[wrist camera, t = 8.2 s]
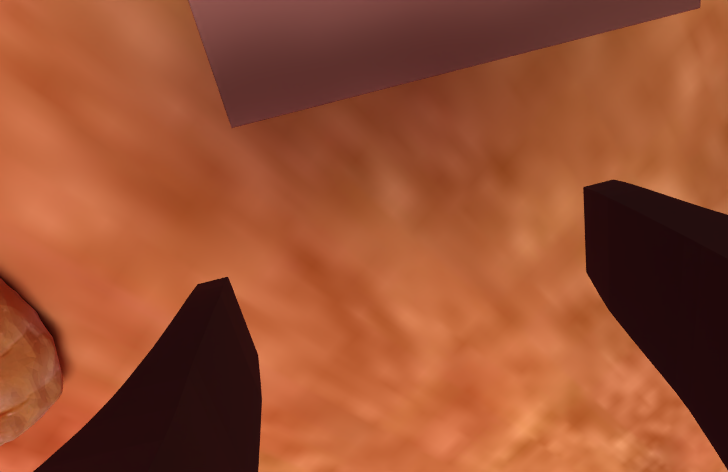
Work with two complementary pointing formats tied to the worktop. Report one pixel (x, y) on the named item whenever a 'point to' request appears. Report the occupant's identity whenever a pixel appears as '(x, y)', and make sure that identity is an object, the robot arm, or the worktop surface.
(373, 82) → the base
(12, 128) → the worktop surface
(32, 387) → the pastry
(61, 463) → the robot arm
